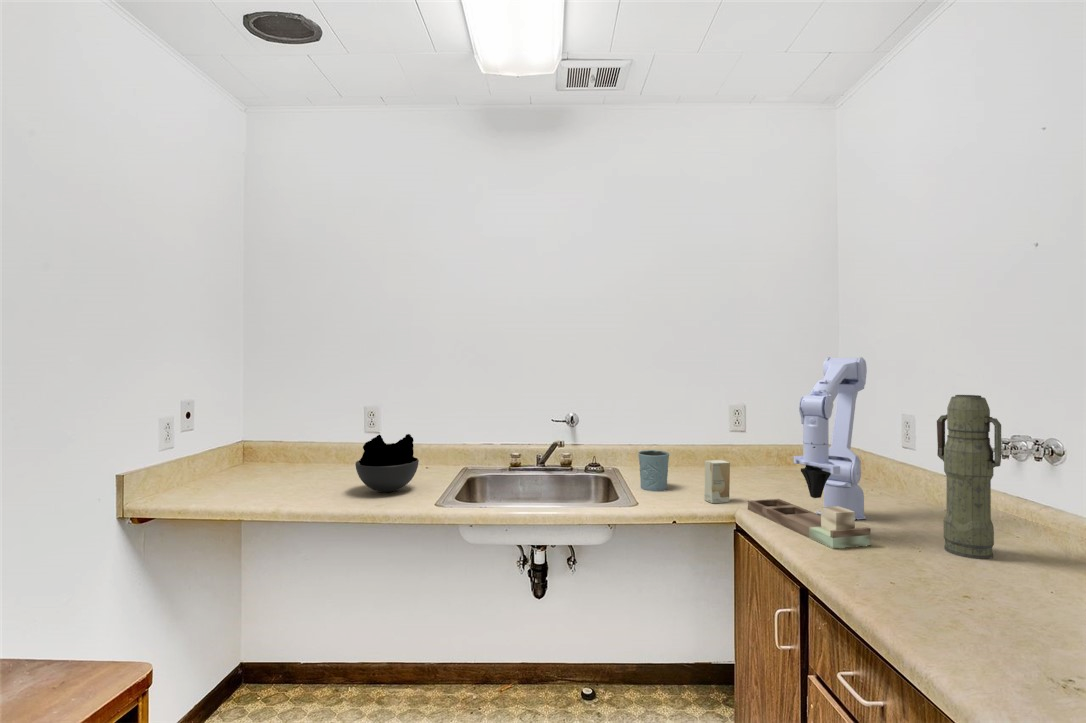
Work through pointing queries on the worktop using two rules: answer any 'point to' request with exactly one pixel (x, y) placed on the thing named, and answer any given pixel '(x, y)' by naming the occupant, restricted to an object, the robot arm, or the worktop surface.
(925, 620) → the worktop surface
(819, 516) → the track
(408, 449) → the bowl of black rocks
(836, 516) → the maple block
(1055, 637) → the worktop surface
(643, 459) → the teal embossed cup
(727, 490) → the skincare box
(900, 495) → the worktop surface
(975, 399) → the thermos
